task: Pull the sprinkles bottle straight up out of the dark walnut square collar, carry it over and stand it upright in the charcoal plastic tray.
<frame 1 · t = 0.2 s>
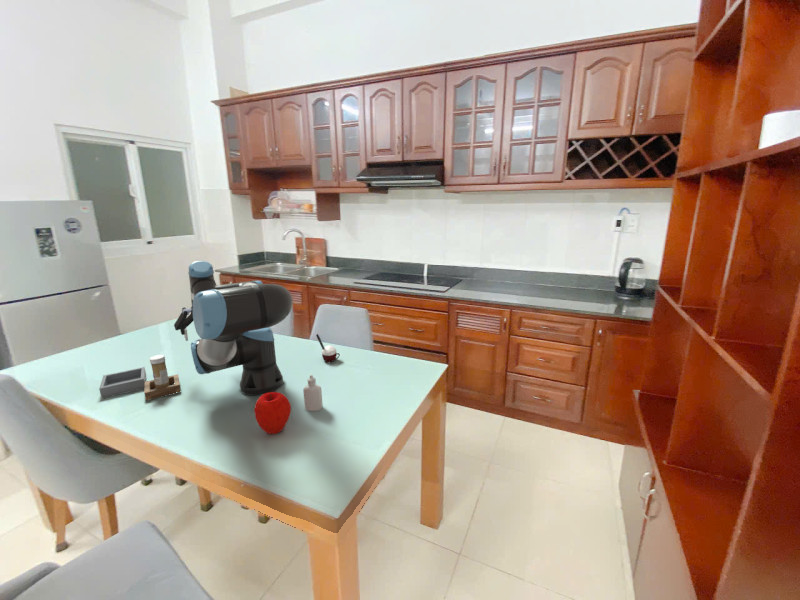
hand: (205, 333, 145), 16 cm above the table, tool tilted 35°, fingers open, 13 cm apart
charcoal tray: (125, 386, 135), on the table
walnut collar: (163, 390, 131), on the table
apple: (275, 431, 106), on the table
cocoa: (329, 360, 155), on the table
eye dropper bottle: (314, 408, 117), on the table
sprinkles bottle: (163, 391, 131), resting in walnut collar
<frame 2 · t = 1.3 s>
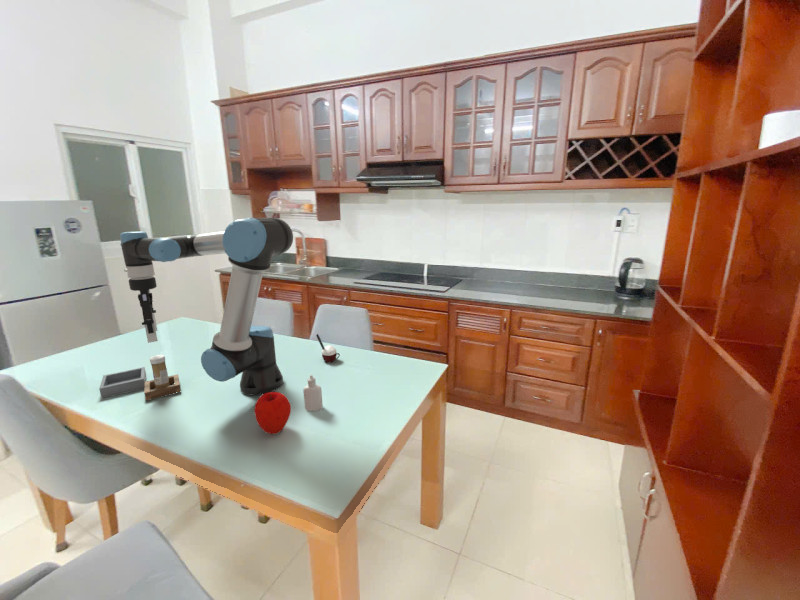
hand: (152, 336, 126), 21 cm above the table, tool pointing down, fingers open, 13 cm apart
nothing on the table moved.
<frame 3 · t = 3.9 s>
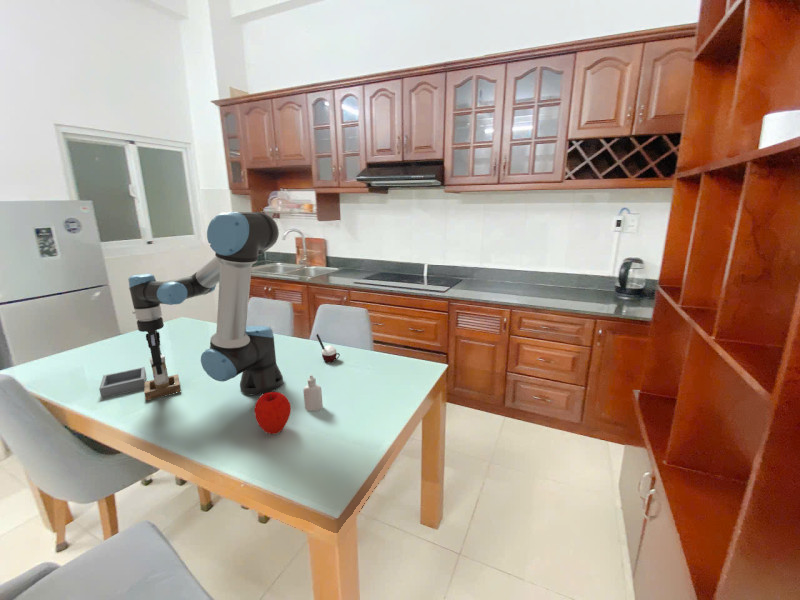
hand: (161, 379, 130), 5 cm above the table, tool pointing down, fingers closed on sprinkles bottle, 4 cm apart
sprinkles bottle: (163, 391, 131), resting in walnut collar, touching gripper
everything else where it was.
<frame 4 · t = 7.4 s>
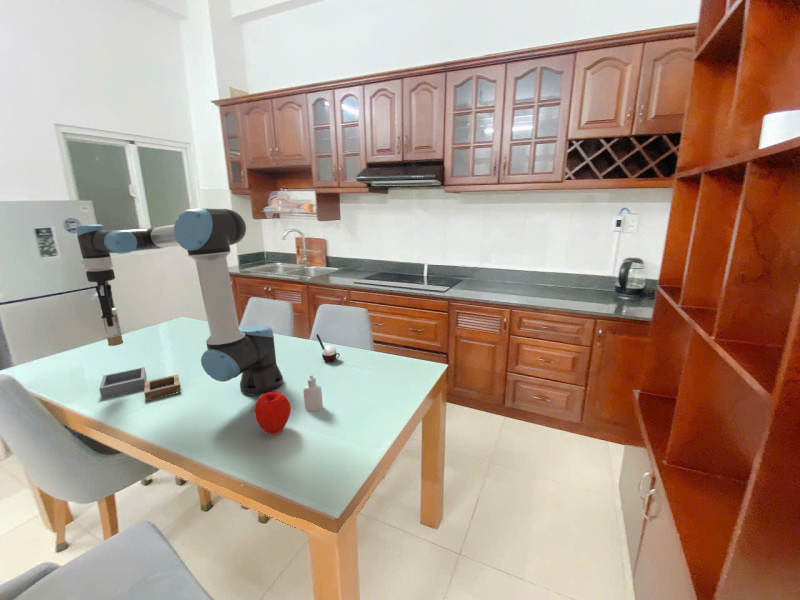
hand: (113, 332, 130), 22 cm above the table, tool pointing down, fingers closed on sprinkles bottle, 4 cm apart
sprinkles bottle: (116, 344, 131), point 17 cm above the table, touching gripper
everything else where it was.
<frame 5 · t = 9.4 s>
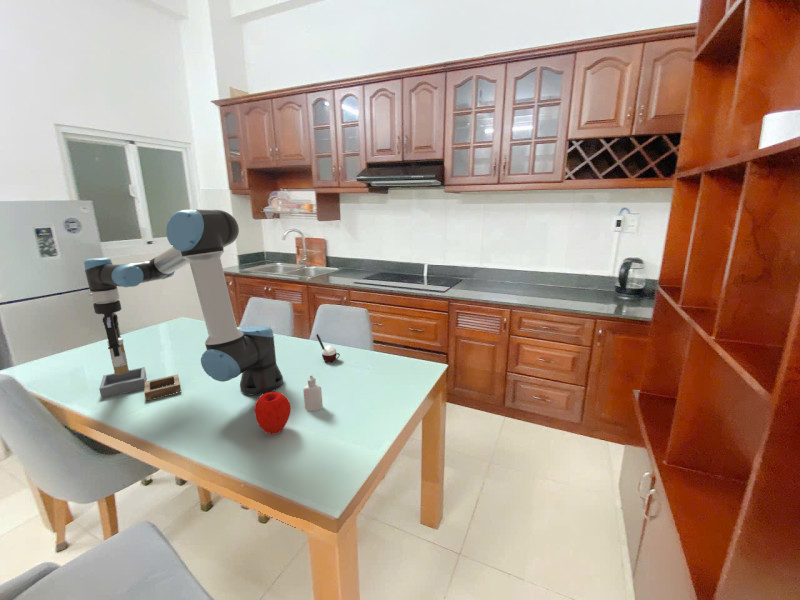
hand: (119, 361, 133), 10 cm above the table, tool pointing down, fingers closed on sprinkles bottle, 4 cm apart
sprinkles bottle: (122, 373, 134), point 5 cm above the table, touching gripper
everything else where it was.
when the fingers open (6 cm above the table, at t = 10.9 s): sprinkles bottle moves 1 cm, resting on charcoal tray.
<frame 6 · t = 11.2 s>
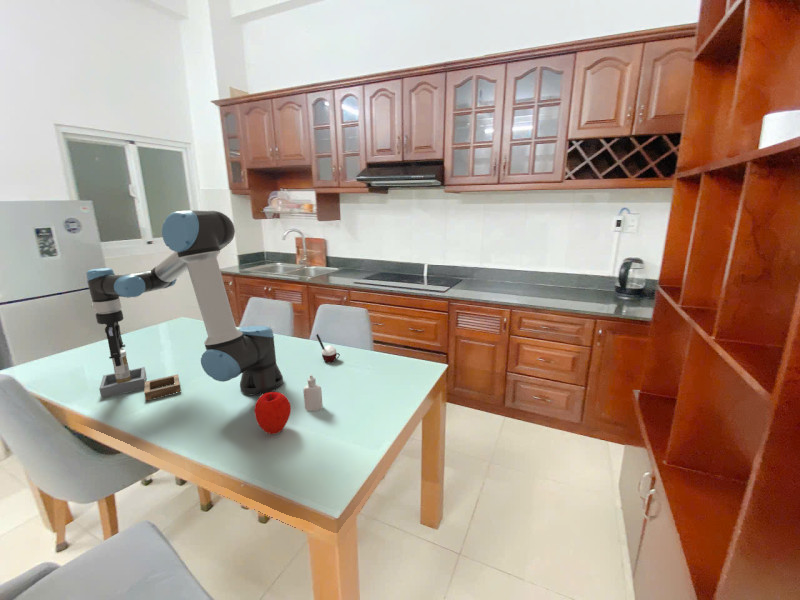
hand: (121, 368, 133), 7 cm above the table, tool pointing down, fingers open, 9 cm apart
sprinkles bottle: (125, 385, 134), point 1 cm above the table, touching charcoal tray
everything else where it was.
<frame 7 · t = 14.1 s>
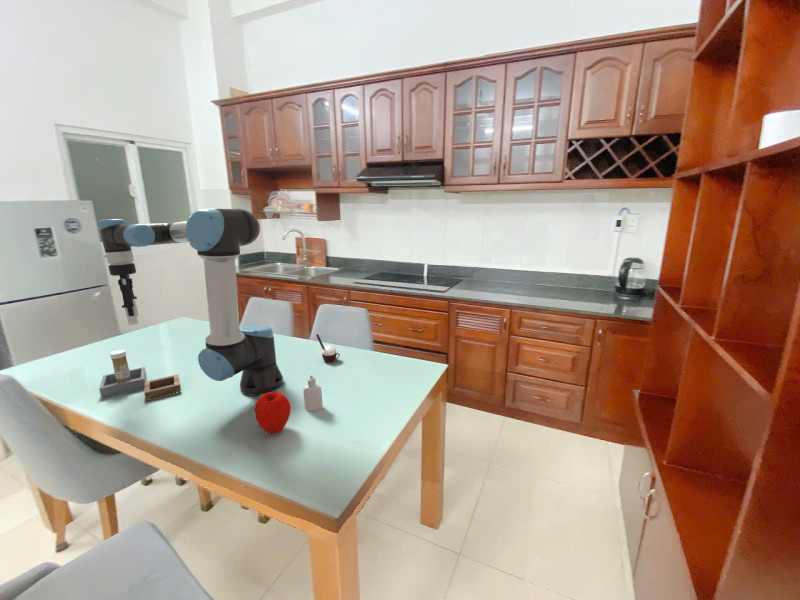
hand: (134, 320, 131), 25 cm above the table, tool pointing down, fingers open, 13 cm apart
nothing on the table moved.
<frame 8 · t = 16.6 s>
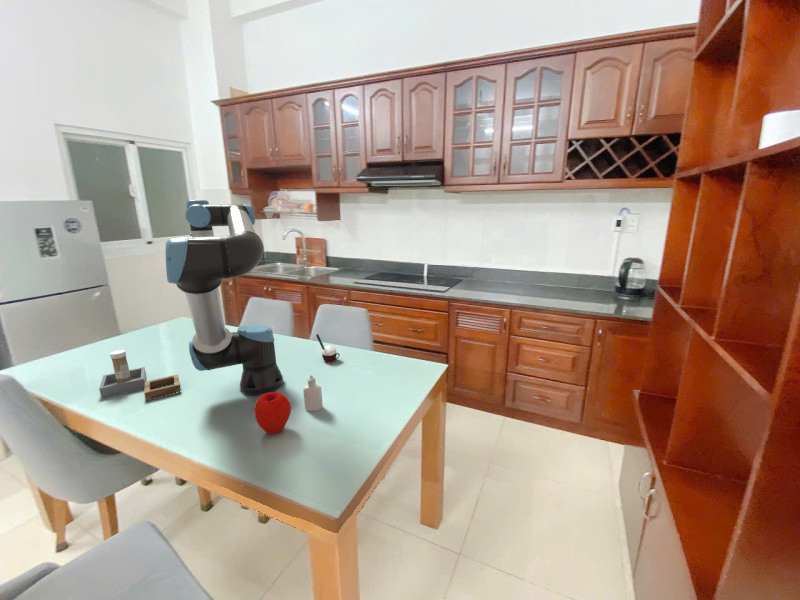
hand: (211, 295, 141), 32 cm above the table, tool pointing down, fingers open, 13 cm apart
nothing on the table moved.
at the end: sprinkles bottle inside the target area on the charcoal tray (0.6 cm from its centre), point 0.6 cm above the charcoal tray's base; sprinkles bottle tilted 0°; the gripper is holding nothing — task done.
